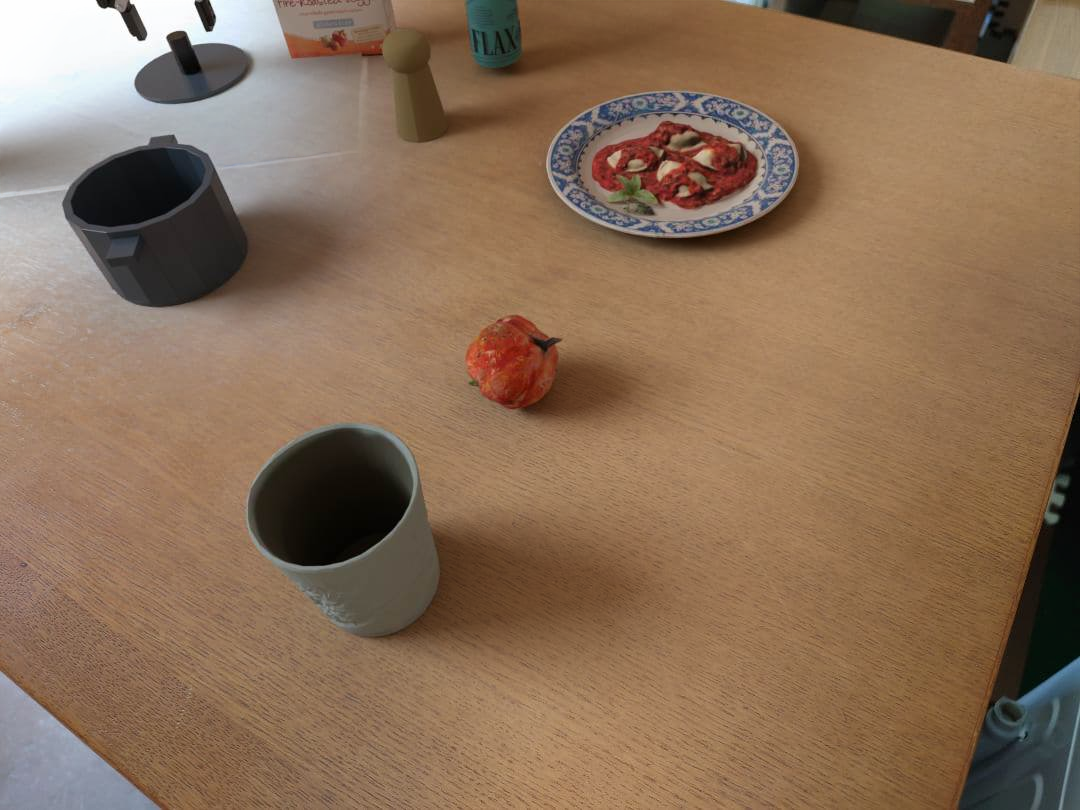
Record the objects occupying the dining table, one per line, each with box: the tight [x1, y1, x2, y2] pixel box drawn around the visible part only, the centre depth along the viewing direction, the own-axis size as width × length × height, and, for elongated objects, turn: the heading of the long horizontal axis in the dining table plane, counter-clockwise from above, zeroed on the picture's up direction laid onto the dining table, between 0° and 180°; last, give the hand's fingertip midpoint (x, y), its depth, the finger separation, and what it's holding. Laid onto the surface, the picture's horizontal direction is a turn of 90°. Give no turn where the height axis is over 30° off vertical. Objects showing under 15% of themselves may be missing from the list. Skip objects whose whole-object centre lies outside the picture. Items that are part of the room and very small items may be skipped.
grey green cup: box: [245, 421, 441, 638], centre depth 50 cm, size 10×10×12 cm
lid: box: [133, 30, 250, 105], centre depth 100 cm, size 15×15×6 cm
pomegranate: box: [464, 314, 563, 410], centre depth 62 cm, size 7×7×10 cm
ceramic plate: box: [545, 90, 800, 239], centre depth 81 cm, size 26×26×3 cm
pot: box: [61, 133, 249, 308], centre depth 75 cm, size 14×19×9 cm
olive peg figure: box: [382, 27, 449, 143], centre depth 87 cm, size 6×6×11 cm
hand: (176, 33), depth 98 cm, fingers open, 8 cm apart
